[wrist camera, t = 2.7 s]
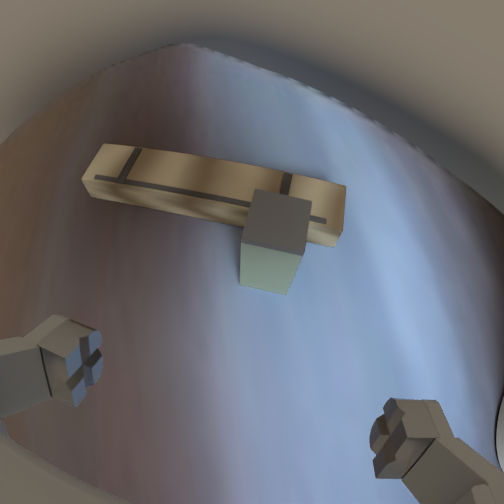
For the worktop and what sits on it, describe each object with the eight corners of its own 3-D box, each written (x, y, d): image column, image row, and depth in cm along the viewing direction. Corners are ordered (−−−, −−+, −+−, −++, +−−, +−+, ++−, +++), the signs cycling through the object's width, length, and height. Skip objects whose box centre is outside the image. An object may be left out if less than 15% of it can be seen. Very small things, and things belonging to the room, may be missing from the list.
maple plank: (337, 204, 32) (346, 185, 29) (333, 247, 29) (343, 230, 27) (111, 161, 33) (103, 142, 30) (91, 196, 31) (80, 178, 28)
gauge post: (294, 253, 29) (312, 201, 22) (286, 295, 27) (304, 252, 20) (250, 244, 29) (254, 188, 22) (239, 284, 27) (241, 237, 20)
